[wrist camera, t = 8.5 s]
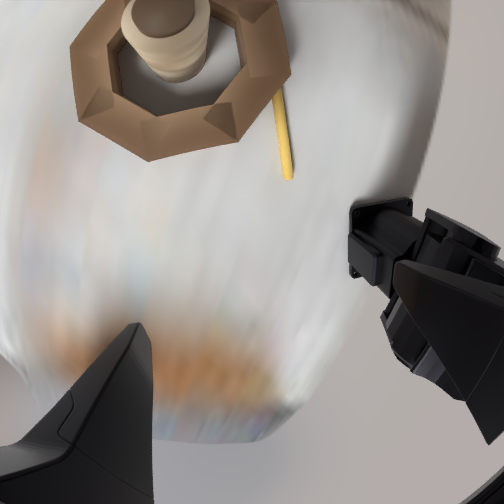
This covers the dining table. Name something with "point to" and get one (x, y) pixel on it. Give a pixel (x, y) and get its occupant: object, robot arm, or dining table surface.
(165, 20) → the beige wooden peg
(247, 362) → the dining table surface
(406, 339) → the robot arm
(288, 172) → the thin yellow rod
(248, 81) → the brown octagonal ring
